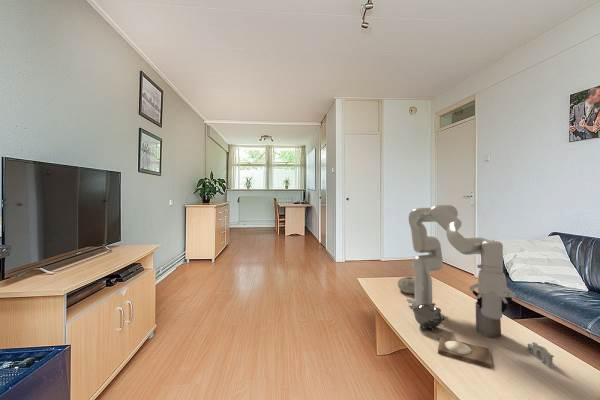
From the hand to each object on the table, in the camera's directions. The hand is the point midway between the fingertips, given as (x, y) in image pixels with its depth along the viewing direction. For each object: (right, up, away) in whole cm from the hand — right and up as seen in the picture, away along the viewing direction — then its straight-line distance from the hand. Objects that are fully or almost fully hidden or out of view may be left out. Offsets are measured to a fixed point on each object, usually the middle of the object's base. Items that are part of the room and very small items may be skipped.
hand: (491, 308), depth 112 cm
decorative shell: (-6, -17, +67) cm, 69 cm away
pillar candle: (+7, -17, +11) cm, 21 cm away
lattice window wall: (+12, -17, -10) cm, 23 cm away
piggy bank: (-19, -17, +17) cm, 31 cm away
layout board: (-15, -17, -5) cm, 23 cm away
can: (0, -4, 0) cm, 4 cm away
